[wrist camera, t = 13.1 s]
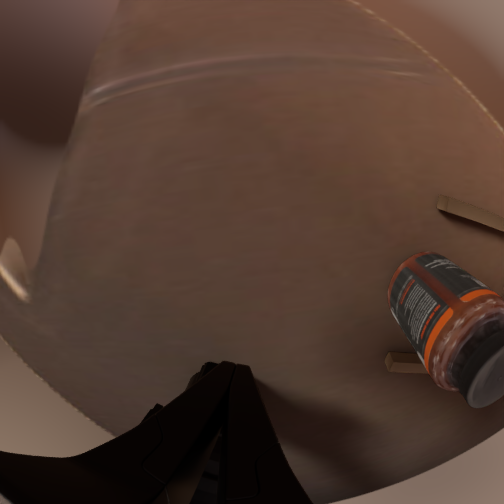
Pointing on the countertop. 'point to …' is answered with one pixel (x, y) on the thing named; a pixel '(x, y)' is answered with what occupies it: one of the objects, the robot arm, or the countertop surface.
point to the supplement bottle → (451, 325)
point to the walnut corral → (410, 360)
